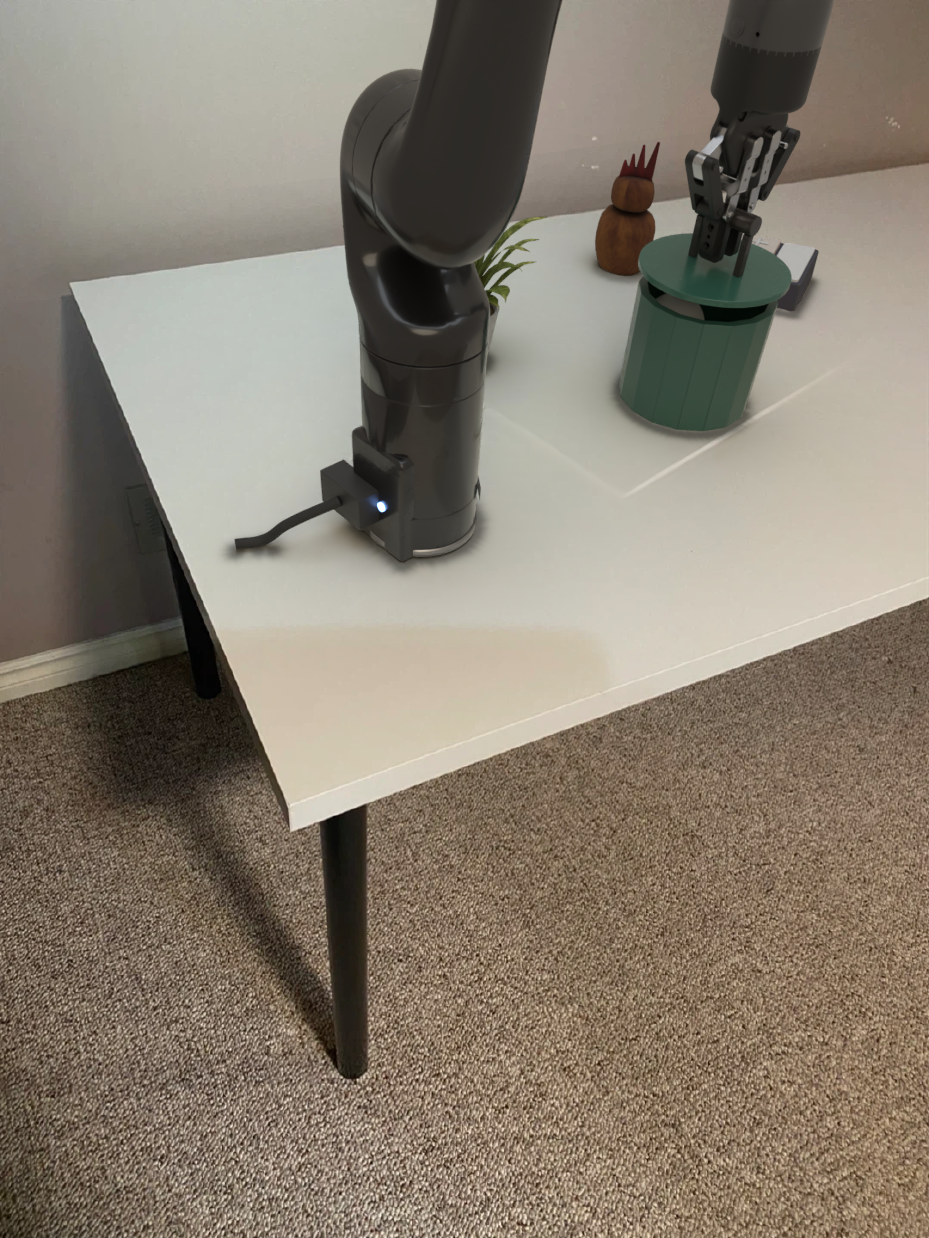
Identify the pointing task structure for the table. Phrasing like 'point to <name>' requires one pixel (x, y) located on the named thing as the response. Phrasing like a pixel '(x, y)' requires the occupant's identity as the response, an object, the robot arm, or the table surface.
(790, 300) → the calculator
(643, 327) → the tin
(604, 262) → the wooden figurine
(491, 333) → the house plant
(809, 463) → the table surface
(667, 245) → the lid
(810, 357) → the table surface
